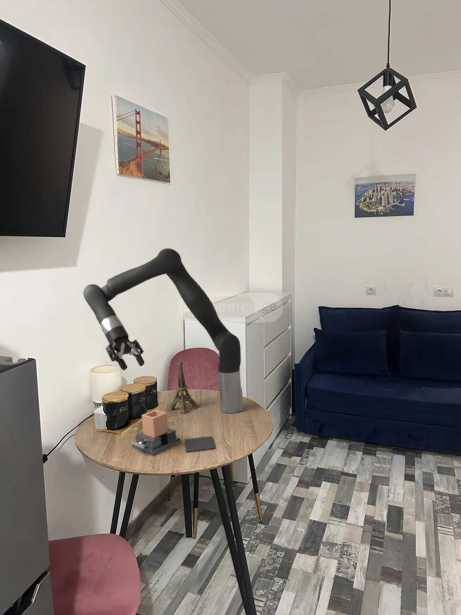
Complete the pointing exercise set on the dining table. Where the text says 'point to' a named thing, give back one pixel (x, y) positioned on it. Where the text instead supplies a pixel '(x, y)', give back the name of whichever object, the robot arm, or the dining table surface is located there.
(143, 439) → the vise
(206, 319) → the robot arm
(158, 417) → the collar
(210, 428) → the dining table surface
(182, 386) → the eiffel tower
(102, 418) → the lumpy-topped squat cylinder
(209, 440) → the mat
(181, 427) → the dining table surface
